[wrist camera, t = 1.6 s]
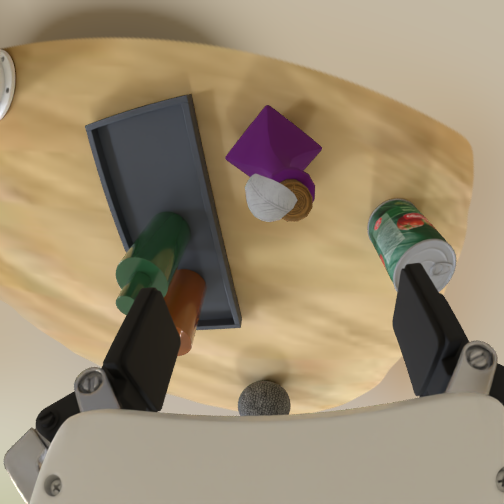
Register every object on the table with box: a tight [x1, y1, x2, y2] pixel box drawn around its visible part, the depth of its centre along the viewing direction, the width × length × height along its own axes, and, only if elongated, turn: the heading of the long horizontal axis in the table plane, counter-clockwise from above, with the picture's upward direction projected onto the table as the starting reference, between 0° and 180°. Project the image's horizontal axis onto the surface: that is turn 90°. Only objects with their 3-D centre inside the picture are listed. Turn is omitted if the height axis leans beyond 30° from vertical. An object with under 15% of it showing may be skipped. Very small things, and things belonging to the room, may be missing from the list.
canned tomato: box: [368, 199, 456, 292], centre depth 34 cm, size 8×8×11 cm
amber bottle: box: [164, 269, 207, 356], centre depth 38 cm, size 6×6×15 cm
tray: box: [85, 94, 242, 330], centre depth 40 cm, size 34×14×2 cm, turn 9°
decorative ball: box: [238, 381, 290, 416], centre depth 54 cm, size 10×10×10 cm
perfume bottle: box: [225, 105, 322, 222], centre depth 27 cm, size 8×8×18 cm
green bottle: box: [116, 212, 191, 315], centre depth 34 cm, size 6×6×15 cm
